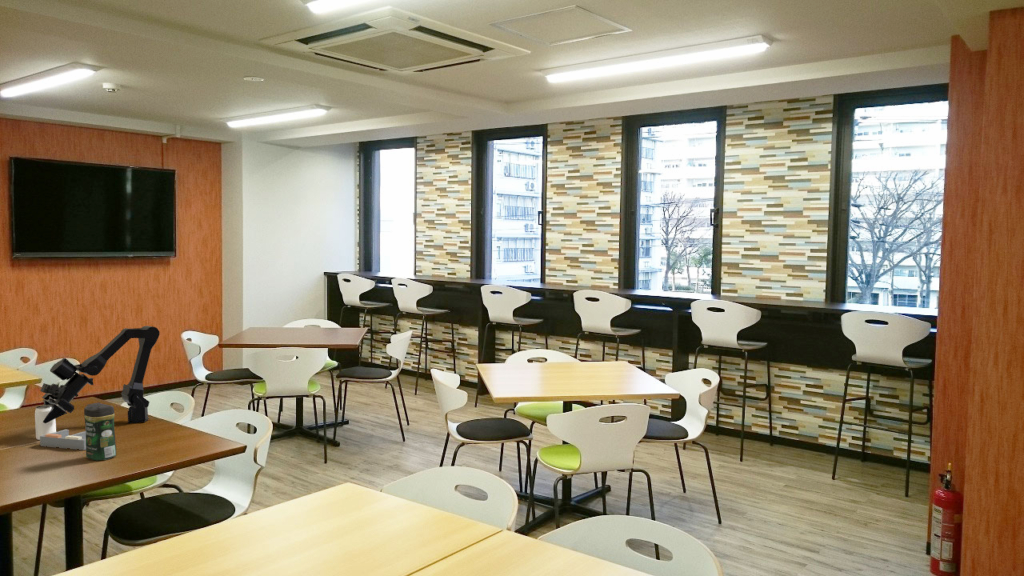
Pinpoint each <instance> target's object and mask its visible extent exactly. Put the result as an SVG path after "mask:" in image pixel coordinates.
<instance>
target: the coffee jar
mask: <svg viewBox="0 0 1024 576" xmlns="http://www.w3.org/2000/svg"><path fill="white" fill-rule="evenodd" d="M115 415H116V414H115V407H114V406H113V405H110V404H106V403H105V404H104V403H101V402H94V403H89V404H88V403H87V405H85V407H84V410H83V417H84V425H85V426H84V427H85V431H86V450H85V457H86V458H87V459H89V460H93V461H95V462H96V461H106V460H110V459H112V458H114V457H116V456H117V446H116V445H117V444H116V432H115V431H116V430H115Z"/></svg>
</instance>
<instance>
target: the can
mask: <svg viewBox="0 0 1024 576" xmlns="http://www.w3.org/2000/svg"><path fill="white" fill-rule="evenodd" d="M51 409H52V405H44V404H43V405H38V406H36V407H35V411H34V425H35V427H34V428H35V438H36V440H38V441H40V436H43V435H46V434H50V433H54V432H57V422H56V419H57V418H56V419H54V420H51V421H49V422H47V423H43V421H44V419H45V418H46V416H47V415H48V413H49V412H50V411H51Z"/></svg>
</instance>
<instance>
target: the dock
mask: <svg viewBox="0 0 1024 576" xmlns="http://www.w3.org/2000/svg"><path fill="white" fill-rule="evenodd" d="M39 444H40V445H39V446H40V447H46V446H47V447H48V448H56V447H59V448H58V449H67V448H70V449H69V450H77V449H79V450H80V451H86V430H84V431H80V432H77V433H73V434H70V430H69V429H61V430H59V431H56V432H54V433H50V434H46V435H43V436H40V440H39ZM79 450H78V451H79Z"/></svg>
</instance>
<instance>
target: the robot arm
mask: <svg viewBox="0 0 1024 576" xmlns="http://www.w3.org/2000/svg"><path fill="white" fill-rule="evenodd" d="M160 333H161V332H160V330H159V329H158V328H157V327H156V326H151V325H144V326H142V327H136V328H135V327H133V328H128V327H125V328H123V329H122V330H121V331H120V332H119V333H118V334H117V335H115V337H114V338H112V339H111V341H110V342H108V344H106V345H105V346H104V347H103V348H102V349H101V350H100V351H99V352H97V353H96V354H94V355H91V356H90V357H88V358H87V359H85V360H84V361H82V362H81V363H78V364H73V363H72V362H70V361H69V359H67V358H66V357H63V358H62V359H60V360H59V361H57V362H56V363H54V364H53V365H52V366H51V368H50V370H49V372H50V373H52V374H53V375H55V377H57V378H59V379H60V380H61V381H65V380H66V381H67V382H65V383H64V384H60V385H59V384H57V383H51V384H48V383H43V384H42V387H40V390H39V391H40V393H41V392H42V393H43V394H44V395H43V396H42V397H41V398H42V399H43V400H42V401H43V405H52V409H51V411H50V412H49V413H48V415H47V416H46V418H45V419H44V421H43V423H47V422H49V421H51V420H54V419H58V418H60V417H62V416H64V415H66V414H68V413H69V414H72V413H73V411H74V410H75V405H74V404H72V403H71V401H72V400H73V399H74V398H75V397H76V398H77V397H79V393H80V392H81V391H82V390H83V389H84V387H85V386H86V385H87V384H88V385H91V386H93V385H94V378H93V377H94V376H97V375H99V374H100V373H101V372H102V370H103V369H104V368H105V367H106V364H107V363H108V361H109V360H110V359H111V357H113V356H114V355H115V354H116V353H117V352H118V351H119V350H121V348H122V347H124V345H125V344H127V343H128V342H129V341H130V340H131V339H138V340H137V341H138V345H139V346H138V347H139V348H138V351H137V354H136V358H135V362H134V367H133V369H132V372H131V378H130V380H129V382H128V384H123V386H122V390H121V392H120V395H121V398H122V400H123V402H124V403H126V404H127V406H128V411H127V424H138V422H144V423H146V422H147V421H149V420H150V419H149V418H150V417H149V411H148V408H149V405H150V401H149V400H148V399H146V398H145V397H144V392H145V391H144V385H143V384H144V379H145V374H146V371H147V367H148V365H149V364H148V363H149V360H150V357H151V352H152V349H153V347H154V346H155V345H156V344H157V342H158V339H159V337H160V335H161V334H160ZM78 372H79V373H78ZM80 373H81V374H80ZM88 376H92V377H88ZM148 419H149V420H148ZM145 421H146V422H145Z"/></svg>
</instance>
